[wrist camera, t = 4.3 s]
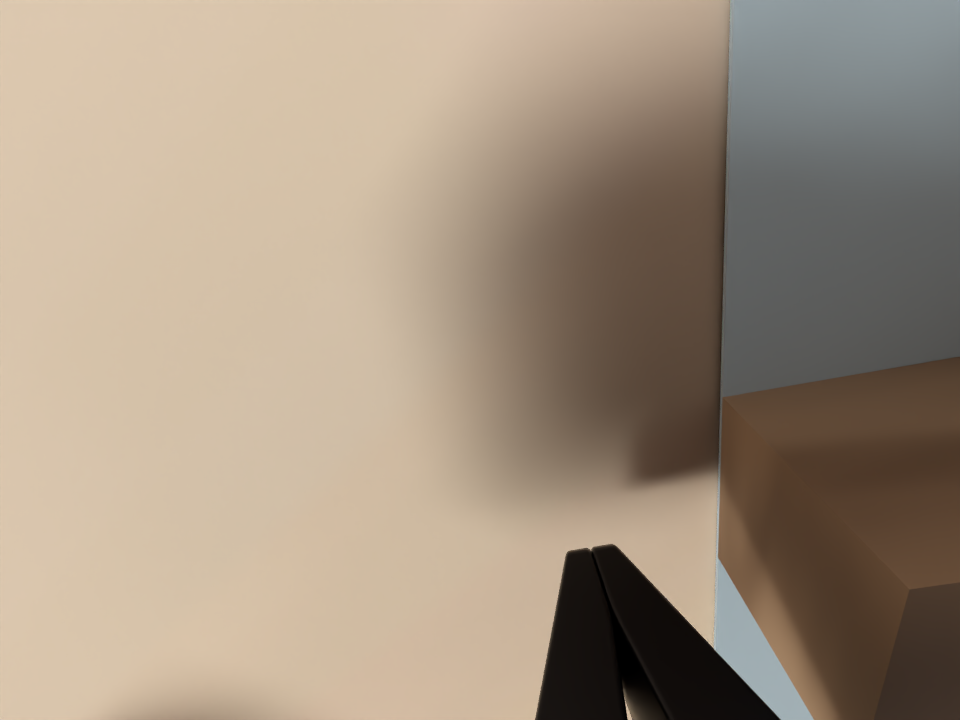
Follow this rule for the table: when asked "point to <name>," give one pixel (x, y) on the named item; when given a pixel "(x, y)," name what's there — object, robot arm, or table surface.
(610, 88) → the table surface
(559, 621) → the robot arm
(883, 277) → the mat
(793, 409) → the tee
